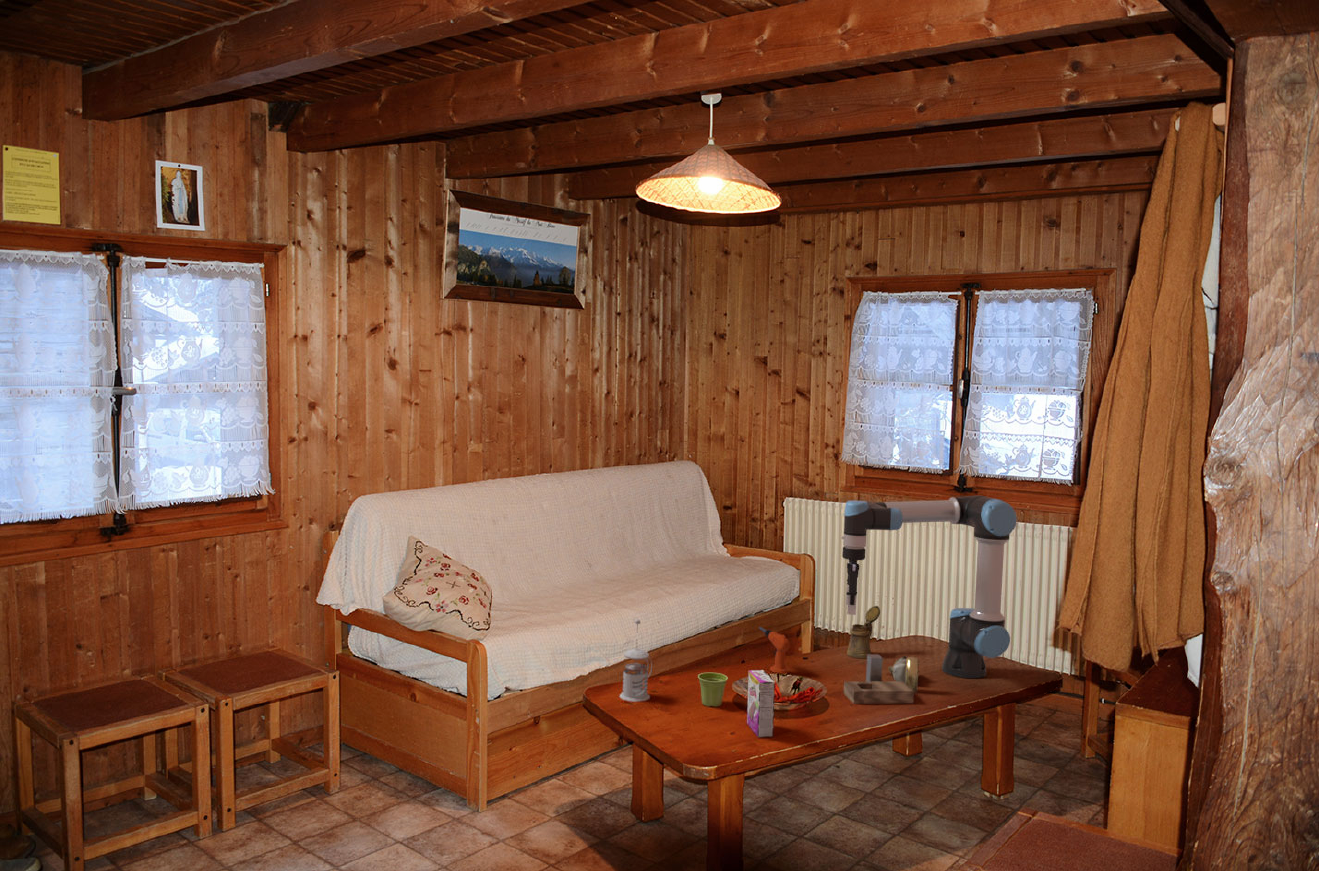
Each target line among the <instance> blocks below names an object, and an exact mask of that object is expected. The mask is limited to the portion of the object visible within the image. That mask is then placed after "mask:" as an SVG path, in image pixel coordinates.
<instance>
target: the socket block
mask: <svg viewBox="0 0 1319 871" xmlns="http://www.w3.org/2000/svg"><path fill="white" fill-rule="evenodd" d="M843 683H844V684H843V695H845V697H846V698H848V700H849V701H850V702H851V703H852V704H855V705H856V704H857V705H859V704H863V705H864V704H865V705H866V704H867V705H868V704H872V705H873V704H914V699H915V698H914V695H915V693H914V691H913V690H912V689H911V688H910V687H908V686H907V685H906V684H905V683H904V682H903V681H896V680H889V681H888V680H887V681H886V680H882V681H866V680H865V681H863V680H861V681H854V680H853V681H848V680H847V681H843Z"/></svg>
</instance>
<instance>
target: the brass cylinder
mask: <svg viewBox="0 0 1319 871" xmlns="http://www.w3.org/2000/svg"><path fill="white" fill-rule="evenodd" d="M906 657H907V656H906ZM919 661H920V659H919V658H918V657H916V656H915V657H914V656H908V657H907V658H906V675H905V684H906V685H907V686H908V687H910V688H911V689H912V690H913V691H914V694H916V693H918V680H919V673H918V670H919V663H920V662H919Z"/></svg>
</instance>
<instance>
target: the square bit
mask: <svg viewBox="0 0 1319 871" xmlns="http://www.w3.org/2000/svg"><path fill="white" fill-rule="evenodd" d="M883 661H884V658H883V657H882V656H881V655H880V654H871V655H867V658H866V671H865V672H866V673H865V681H883V680H882V679H883V663H884V662H883Z"/></svg>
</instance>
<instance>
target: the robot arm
mask: <svg viewBox="0 0 1319 871" xmlns="http://www.w3.org/2000/svg"><path fill="white" fill-rule="evenodd" d="M843 516H844V517H843V518H844V521H843V535H841V539H842V545H843V547H842V554H841V555H842V556H841V557H842V558H843V559H845V560H848V562H847V563H846V570H847V579H846V582H847V583H846V585H847V586H846V594H845V595H846V598H845V605H846V606H847V607H846V608H847V610H846V615H849V616H850V615H852V616H856V613H857V612H856V610H857V597H858V596H857V595H858V578H859V572H860V564H859V563H858V561H864V560H865V559H866V547H867V531H871V530H873V531H874V530H875V531H899V530H900V529H901V528H902V526H903V524H909V523H911V524H913V523H941V522H942V523H943V522H944V523H945V522H949V523H950V524H952V525H963V526H967V527H972V528H973V538H974V539H975V540H976V541H977V553H976V554H977V558H976V572H975V573H976V575H975V590H974V591H975V593H974V596H975V597H974V608H970V607H959V608H958V607H955V608H952V609H951V611H950V615H949V630H948V631H949V632H948V633H949V634H948V635H949V636H948V647H947V648H948V649H947V651H946V654H945V657H944V659H943V661H942V665H941V666H942V668H941V669H942V671H943V672H944V673H945V674H948V675H951V676H954V677H958V678H963V679H964V678H965V679H981V678H984V677H985V676H987V666H986V663H985V658H990V659H991V658H998V657H999V656H1002V655H1003V654H1004V653H1005V652H1006V651H1007V650H1008V648H1010V647H1009V645H1010V643H1011V636H1010V634H1009V631H1008V630H1007V629H1006V628H1005V624H1006V622H1005V621H1006V617H1005V616H1004V615H1003V613H1002V595H1003V594H1002V590H1003V575H1004V574H1003V571H1004V559H1005V557H1004V556H1005V544H1006V543H1007V542H1009V541H1010V534H1011V533H1013V530H1015V529H1016V527H1017V520H1018V519H1017V514H1016V511H1015V509H1014V508H1013V507H1012V506H1011V505H1010V504H1009V503H1008V502H1007V501H1003V499H1002V500H1001V499H998V498H993V497H990V496H989V497H988V496H984V495H968V496H967V495H965V496H953V497H951V496H950V497H949V499H945V500H943V499H942V500H917V501H916V500H915V501H914V500H913V501H912V500H911V501H910V500H909V501H906V500H905V501H883V502H882V501H880V502H879V501H878V502H877V501H874V502H872V501H869V500H855V499H854V500H848V501H846V502H845V507H844V513H843ZM984 657H985V658H984Z"/></svg>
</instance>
